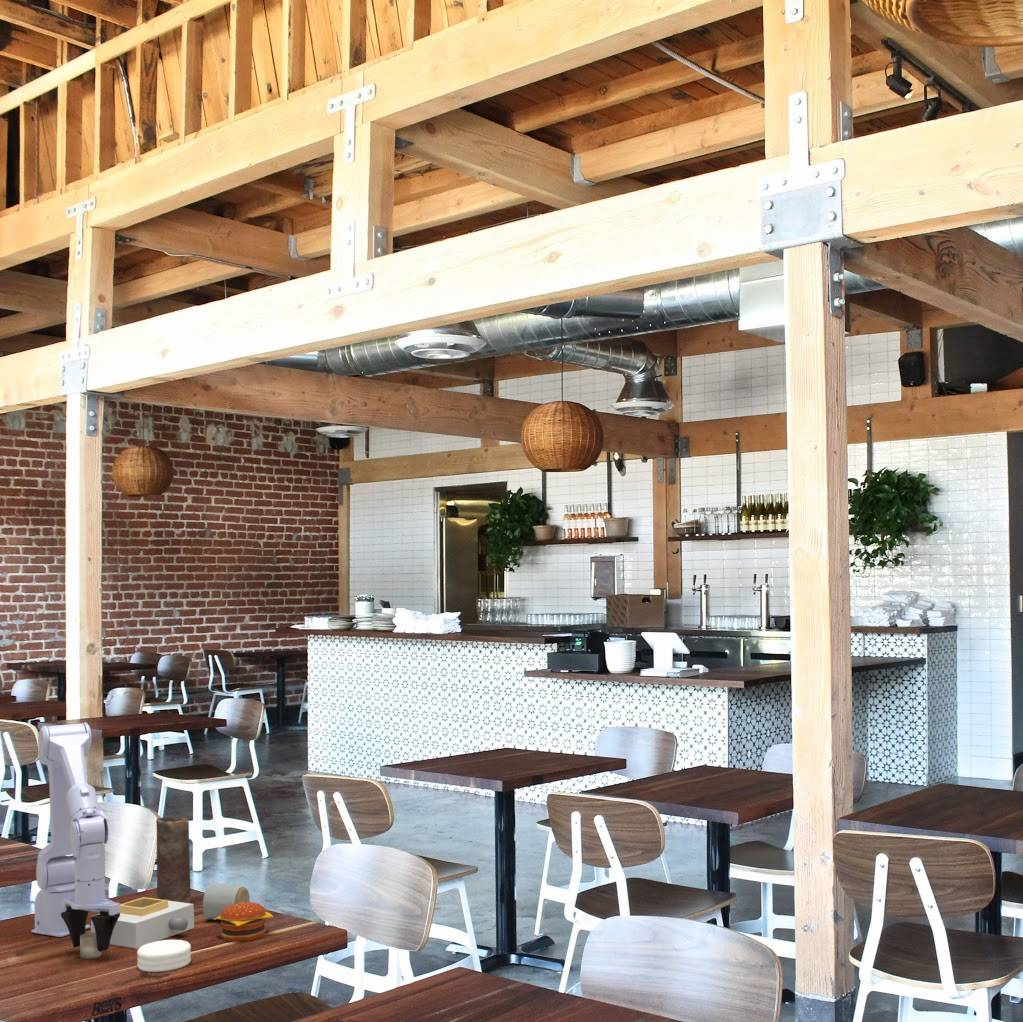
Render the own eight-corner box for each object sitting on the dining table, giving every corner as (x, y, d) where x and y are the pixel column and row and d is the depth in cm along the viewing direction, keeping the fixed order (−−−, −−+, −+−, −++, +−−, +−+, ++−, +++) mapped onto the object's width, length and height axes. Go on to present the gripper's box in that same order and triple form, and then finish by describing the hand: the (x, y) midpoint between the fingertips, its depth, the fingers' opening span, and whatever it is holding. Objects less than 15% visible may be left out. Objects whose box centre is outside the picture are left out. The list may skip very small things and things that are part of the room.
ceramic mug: (237, 924, 261) (237, 887, 261) (202, 923, 262) (201, 886, 263) (257, 911, 271) (257, 876, 272) (223, 911, 273) (222, 875, 273)
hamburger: (247, 927, 258) (247, 895, 259) (275, 934, 252) (275, 902, 252) (210, 937, 251) (209, 904, 252) (238, 945, 245) (237, 912, 245)
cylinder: (75, 957, 241) (75, 936, 241) (92, 951, 244) (91, 931, 244) (89, 959, 239) (89, 939, 239) (106, 954, 242) (105, 933, 242)
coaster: (134, 962, 237) (133, 943, 237) (186, 954, 241) (186, 936, 241) (140, 976, 228) (140, 957, 228) (195, 968, 232) (195, 949, 232)
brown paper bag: (165, 903, 281) (164, 814, 282) (196, 903, 280) (194, 814, 281) (151, 911, 274) (150, 821, 275) (182, 911, 272) (181, 821, 274)
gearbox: (91, 941, 251) (90, 909, 252) (150, 921, 265) (149, 891, 266) (146, 950, 243) (146, 917, 244) (204, 929, 257) (203, 898, 258)
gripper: (48, 879, 242) (49, 949, 242) (99, 886, 235) (100, 958, 234) (77, 871, 249) (78, 939, 248) (127, 878, 241) (128, 948, 241)
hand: (90, 948), depth 241 cm, fingers open, 6 cm apart
